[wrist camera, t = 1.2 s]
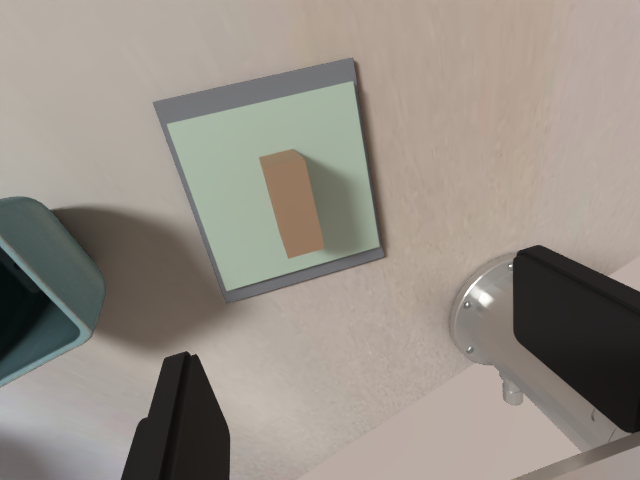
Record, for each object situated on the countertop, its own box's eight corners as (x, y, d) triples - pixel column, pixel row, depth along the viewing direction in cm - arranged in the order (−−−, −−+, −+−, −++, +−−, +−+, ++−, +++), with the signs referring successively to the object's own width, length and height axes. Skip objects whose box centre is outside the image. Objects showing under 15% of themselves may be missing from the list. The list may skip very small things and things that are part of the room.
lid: (376, 243, 32) (404, 271, 26) (226, 286, 30) (225, 326, 25) (349, 81, 27) (378, 76, 21) (168, 123, 25) (150, 129, 20)
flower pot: (54, 169, 25) (-34, 202, 17) (135, 270, 29) (96, 338, 20) (-64, 230, 25) (-211, 294, 17) (33, 324, 28) (-49, 415, 20)
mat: (381, 254, 33) (384, 257, 32) (226, 300, 31) (226, 303, 31) (350, 58, 27) (352, 57, 26) (154, 102, 25) (152, 102, 24)
